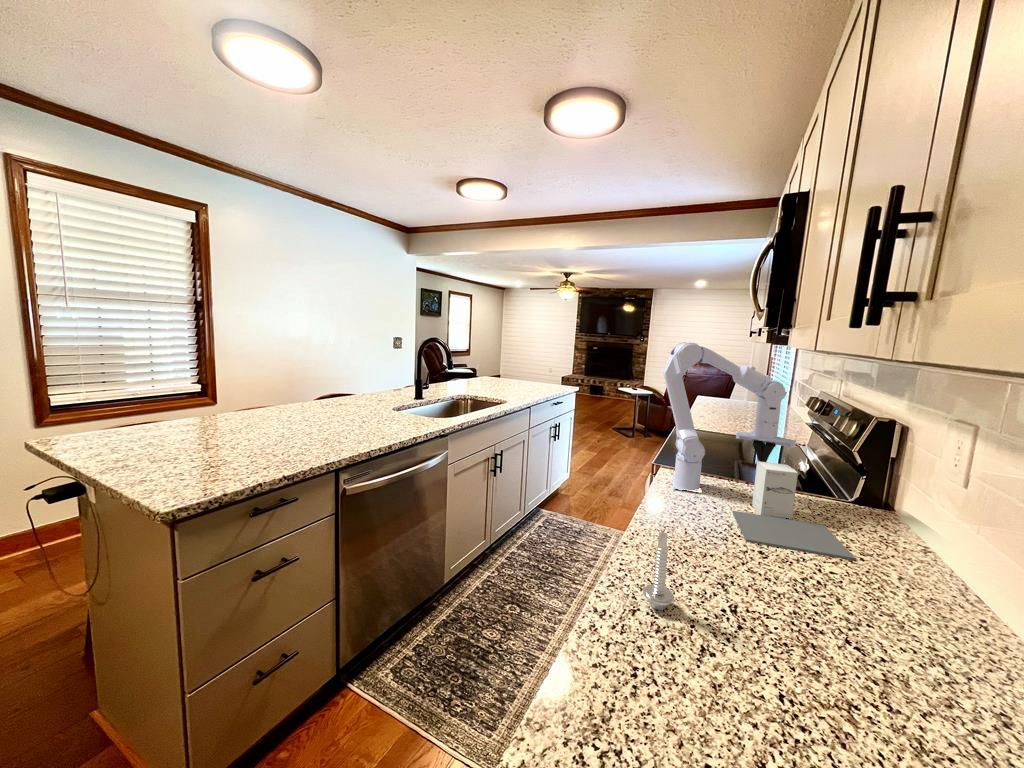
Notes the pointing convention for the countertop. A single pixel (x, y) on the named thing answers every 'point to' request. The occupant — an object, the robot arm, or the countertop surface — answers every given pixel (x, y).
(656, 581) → the screw
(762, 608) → the countertop surface
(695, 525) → the countertop surface
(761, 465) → the supplement box
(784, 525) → the mat
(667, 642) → the countertop surface
